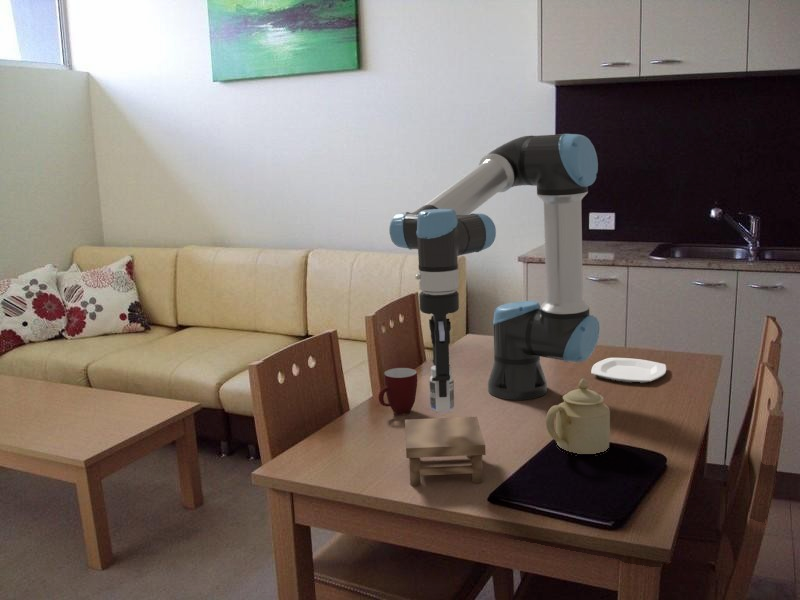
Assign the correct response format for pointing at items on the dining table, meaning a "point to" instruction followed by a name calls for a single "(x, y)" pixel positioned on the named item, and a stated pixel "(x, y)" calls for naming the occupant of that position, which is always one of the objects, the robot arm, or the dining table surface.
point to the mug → (399, 389)
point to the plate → (628, 369)
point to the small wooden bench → (444, 445)
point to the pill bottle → (432, 389)
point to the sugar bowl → (580, 422)
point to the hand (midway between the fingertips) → (442, 406)
